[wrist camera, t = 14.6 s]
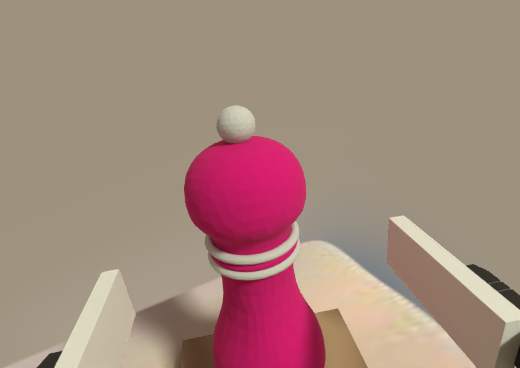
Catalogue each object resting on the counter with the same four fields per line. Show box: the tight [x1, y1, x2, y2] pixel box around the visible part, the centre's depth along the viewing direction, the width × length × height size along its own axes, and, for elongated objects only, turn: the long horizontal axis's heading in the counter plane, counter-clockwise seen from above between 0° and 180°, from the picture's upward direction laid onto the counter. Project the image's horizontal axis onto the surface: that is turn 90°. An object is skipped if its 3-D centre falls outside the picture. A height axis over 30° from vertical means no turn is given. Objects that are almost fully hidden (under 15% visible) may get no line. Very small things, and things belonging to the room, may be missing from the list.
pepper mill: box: [184, 106, 326, 368], centre depth 18 cm, size 7×7×20 cm
